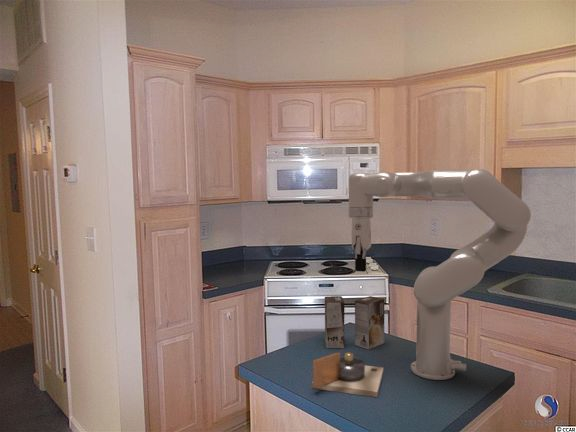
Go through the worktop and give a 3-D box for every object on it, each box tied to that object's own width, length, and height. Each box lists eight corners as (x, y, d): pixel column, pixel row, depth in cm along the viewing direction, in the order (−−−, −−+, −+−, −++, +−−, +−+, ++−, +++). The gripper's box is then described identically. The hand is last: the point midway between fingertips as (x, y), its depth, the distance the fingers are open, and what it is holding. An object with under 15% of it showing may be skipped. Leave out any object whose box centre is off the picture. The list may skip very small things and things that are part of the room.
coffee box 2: (370, 338, 160) (370, 295, 159) (384, 343, 155) (385, 298, 154) (354, 345, 154) (354, 300, 152) (369, 350, 149) (369, 303, 148)
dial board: (383, 372, 131) (383, 367, 131) (377, 397, 116) (377, 391, 116) (324, 365, 137) (324, 360, 137) (311, 388, 122) (311, 382, 122)
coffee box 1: (344, 348, 151) (345, 302, 150) (326, 348, 151) (326, 302, 150) (342, 339, 160) (342, 295, 159) (324, 339, 160) (324, 295, 159)
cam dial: (348, 364, 133) (348, 341, 132) (371, 375, 126) (371, 350, 125) (304, 380, 122) (304, 355, 122) (325, 393, 115) (325, 366, 115)
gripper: (369, 214, 129) (369, 276, 130) (375, 211, 143) (375, 267, 144) (344, 214, 131) (344, 275, 132) (352, 211, 145) (352, 266, 147)
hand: (360, 270), depth 138 cm, fingers closed
